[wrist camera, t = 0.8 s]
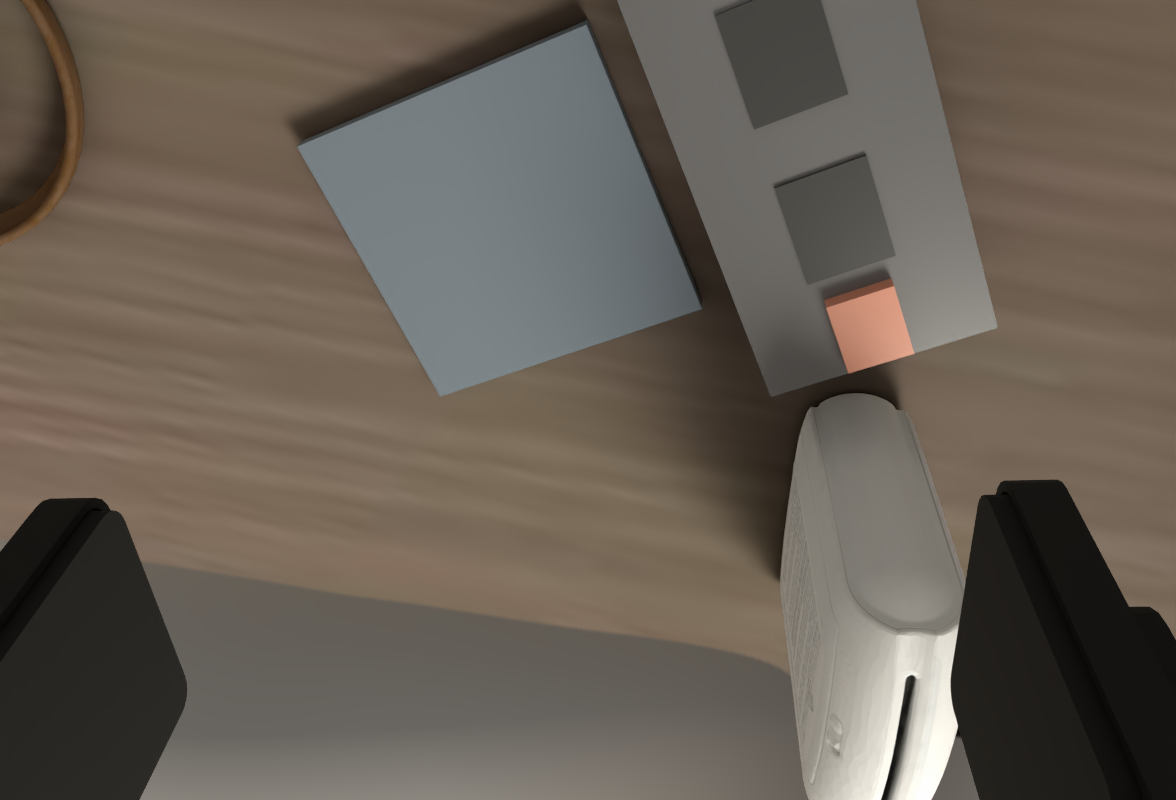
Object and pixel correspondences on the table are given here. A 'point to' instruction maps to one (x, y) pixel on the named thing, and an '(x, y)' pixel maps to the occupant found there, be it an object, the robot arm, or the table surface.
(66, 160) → the place setting
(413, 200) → the mat
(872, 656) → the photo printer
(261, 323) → the table surface
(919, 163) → the power strip
